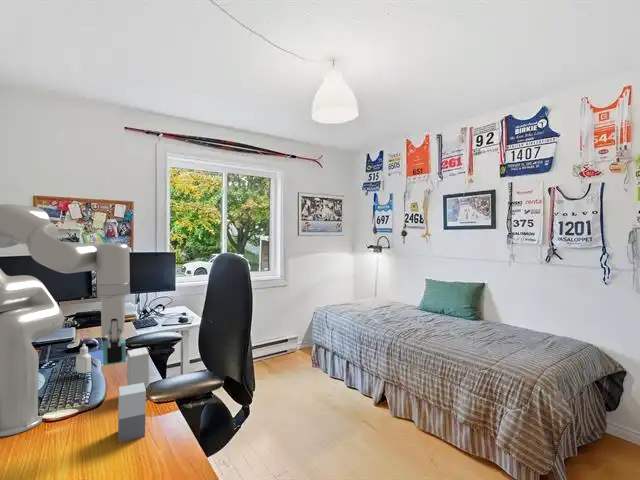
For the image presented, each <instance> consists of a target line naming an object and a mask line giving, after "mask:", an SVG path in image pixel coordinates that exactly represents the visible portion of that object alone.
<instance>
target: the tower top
mask: <svg viewBox="0 0 640 480" xmlns="http://www.w3.org/2000/svg"><path fill="white" fill-rule="evenodd" d="M146 403H147V402H146V389H145V385H144V383H139V384H133V385H127V384H126V385H122V386H119V387H118V407H117V408H118V410H119V419H124V418H128V417H133V416H137V415H142V414H145V415H146V409H147V408H146Z"/></svg>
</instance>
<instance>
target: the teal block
mask: <svg viewBox="0 0 640 480" xmlns="http://www.w3.org/2000/svg"><path fill="white" fill-rule="evenodd" d="M102 342H103V343H102V350H103V366H102V367H105V366H104V365H106V366H110V365H116V364H122V363H126V361H127V360H126V356H127V350H126V348H127V347H126V344H127V343H126V338H123V337H122V338H121V345H122V361H121V362H115V363H108V362H107V348H108V340H104V341H102Z"/></svg>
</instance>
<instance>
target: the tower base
mask: <svg viewBox="0 0 640 480" xmlns="http://www.w3.org/2000/svg"><path fill="white" fill-rule="evenodd" d="M117 417H118V423H117V426H118V427H117V436H118V439H117V440H118V444H120V443H123V442H124V443H125V442H128V441H131V440H136V439H139V438H140V439H141V438H144V437H146V413H145V414H142V415H137V416H133V417H128V418H124V419H119V410H118V416H117Z"/></svg>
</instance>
